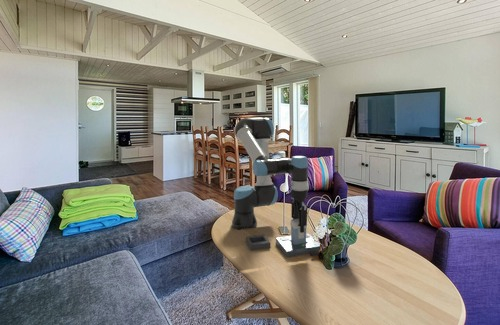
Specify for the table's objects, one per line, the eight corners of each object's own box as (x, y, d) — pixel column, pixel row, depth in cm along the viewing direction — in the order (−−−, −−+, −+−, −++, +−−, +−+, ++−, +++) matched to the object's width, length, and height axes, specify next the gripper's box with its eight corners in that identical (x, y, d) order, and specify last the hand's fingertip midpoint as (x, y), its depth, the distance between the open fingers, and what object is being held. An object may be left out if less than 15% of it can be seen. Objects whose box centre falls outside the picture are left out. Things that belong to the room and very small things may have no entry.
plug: (290, 242, 127) (290, 219, 125) (302, 241, 128) (302, 218, 126) (294, 246, 123) (294, 222, 121) (306, 245, 124) (306, 221, 122)
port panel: (275, 245, 130) (275, 236, 130) (308, 240, 135) (308, 232, 134) (286, 259, 117) (286, 249, 116) (322, 253, 122) (322, 244, 121)
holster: (245, 243, 133) (245, 236, 133) (264, 240, 136) (264, 234, 135) (250, 252, 124) (250, 245, 123) (270, 249, 126) (270, 242, 126)
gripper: (284, 185, 129) (284, 229, 132) (300, 194, 112) (299, 245, 116) (298, 184, 130) (297, 228, 134) (315, 193, 114) (314, 242, 117)
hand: (298, 235), depth 125 cm, fingers closed on plug, 4 cm apart
